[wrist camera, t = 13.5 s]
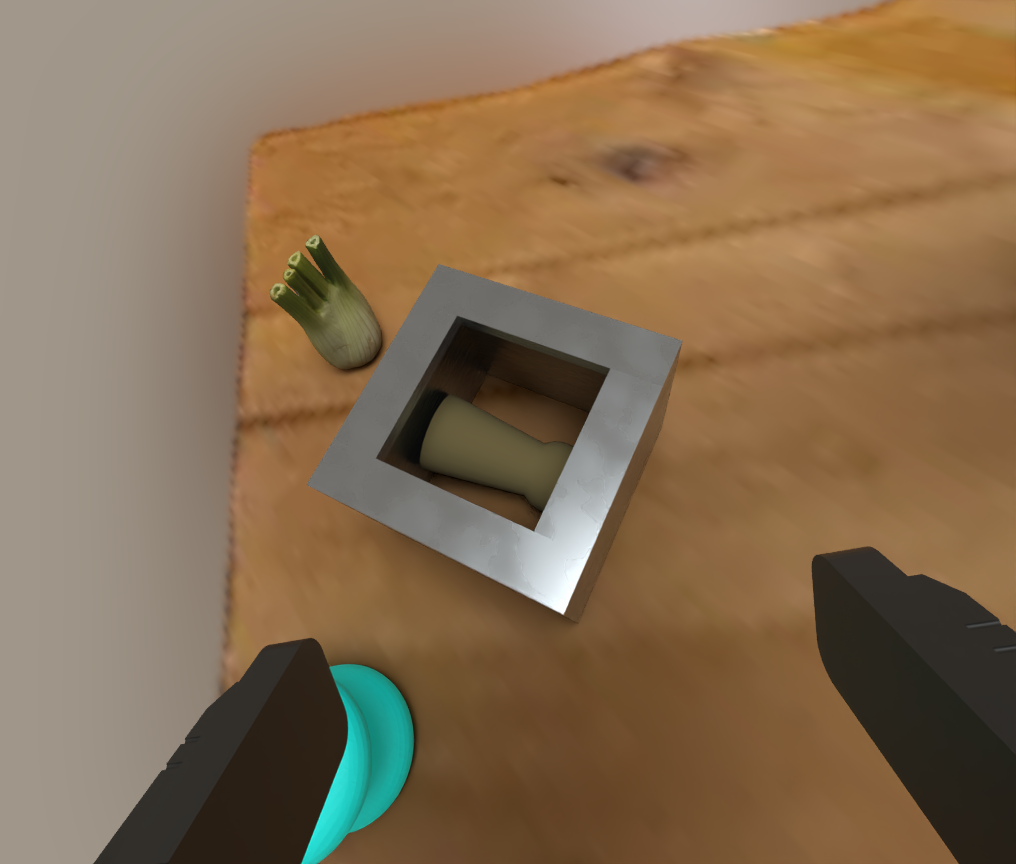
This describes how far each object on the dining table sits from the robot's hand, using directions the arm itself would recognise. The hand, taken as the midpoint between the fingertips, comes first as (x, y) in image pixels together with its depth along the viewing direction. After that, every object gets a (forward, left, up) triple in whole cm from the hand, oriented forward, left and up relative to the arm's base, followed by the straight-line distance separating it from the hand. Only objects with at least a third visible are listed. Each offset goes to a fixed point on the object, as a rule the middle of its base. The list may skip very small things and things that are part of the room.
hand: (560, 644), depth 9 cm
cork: (-8, -16, -27) cm, 33 cm away
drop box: (-9, -10, -31) cm, 34 cm away
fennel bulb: (-14, -29, -31) cm, 45 cm away
